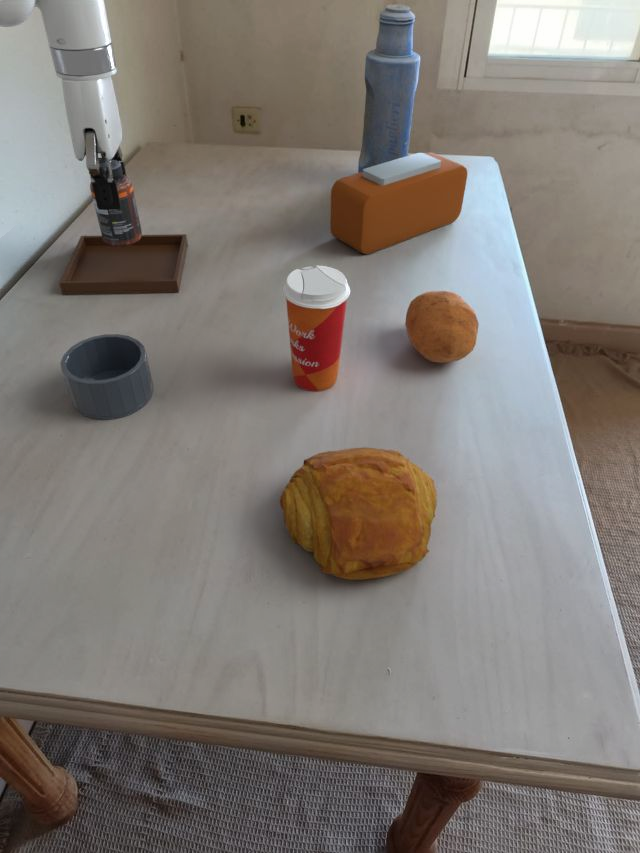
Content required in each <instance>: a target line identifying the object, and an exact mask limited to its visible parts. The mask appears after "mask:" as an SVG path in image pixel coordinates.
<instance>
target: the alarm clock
mask: <svg viewBox="0 0 640 853" xmlns="http://www.w3.org/2000/svg"><path fill="white" fill-rule="evenodd" d="M467 180H468V169H467V167H466V166H465V165H464V164H461V163H458V162H456V161H453V160H451V159H449V158H446V157H444V156H441V155H439V154H436V153H434V152H425V153H424V152H417V153H414V154H413V153H412V154H409V155H408V156H406V157H403V158H399V159H396V160H392V161H389V162H386V163H382V164H379V165H375V166H372V167H368V168H365V169H363V172H361V173H358V172H357V173H354V174H351V175H347V176H343V177H340V178H339V179H337V180H336V181H335V182H334V184H333V185H332V187H331V192H330V218H329V220H330V221H329V224H330V225H329V230H330V234H331V235H332V236H333V237H335V239H338V240H339V241H341V242H342V243H344V244H345V245H348V246H350V247H352V248H353V249H355V250H356V251H358V252H359V253H361V254H363V255H370V254H372V253H376V252H377V251H380V250H383V249H385V248H389V247H391V246H394V245H397V244H400V243H401V242H405V241H407V240H410V239H413V238H415V237H418V236H420V235H423V234H425V233H428V232H432V231H434V230H436V229H437V230H438V229H439V228H442V227H444V226H448V225H450V224H453V223H454V222H455V221H457V220H458V218H459V217H460V216H461V213H462V208H463V203H464V197H465V191H466V186H467Z"/></svg>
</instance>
